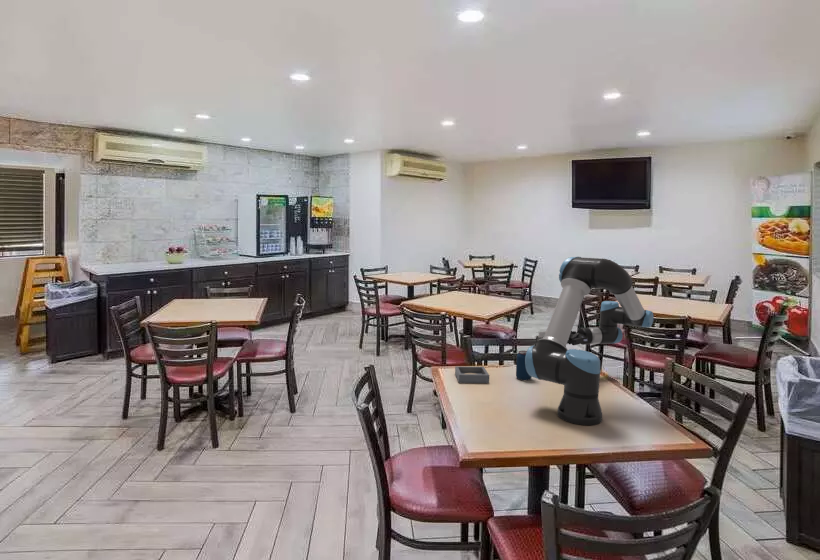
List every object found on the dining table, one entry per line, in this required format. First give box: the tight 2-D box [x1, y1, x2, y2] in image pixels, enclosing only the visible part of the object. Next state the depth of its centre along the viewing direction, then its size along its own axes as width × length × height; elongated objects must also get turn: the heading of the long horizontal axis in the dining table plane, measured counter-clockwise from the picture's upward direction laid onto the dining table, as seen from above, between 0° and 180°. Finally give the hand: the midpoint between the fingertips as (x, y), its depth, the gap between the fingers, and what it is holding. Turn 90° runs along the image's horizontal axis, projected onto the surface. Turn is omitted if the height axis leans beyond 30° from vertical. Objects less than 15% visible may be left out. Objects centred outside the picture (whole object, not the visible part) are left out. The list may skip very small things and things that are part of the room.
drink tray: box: [454, 365, 490, 384], centre depth 220 cm, size 13×13×4 cm
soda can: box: [515, 350, 532, 381], centre depth 222 cm, size 7×7×12 cm
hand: (546, 337), depth 223 cm, fingers open, 13 cm apart
